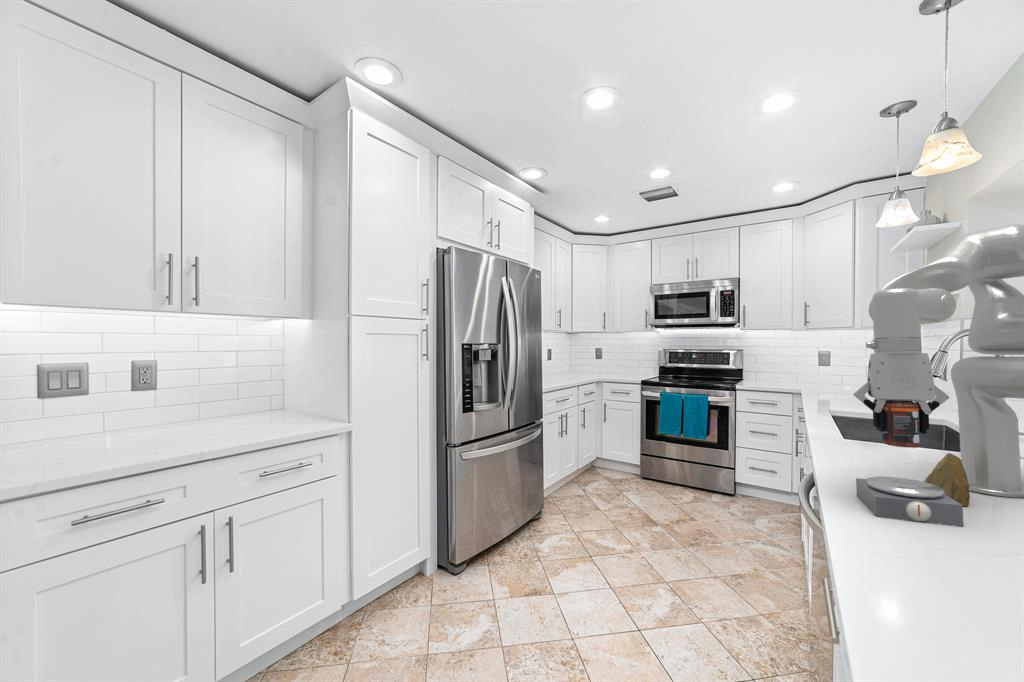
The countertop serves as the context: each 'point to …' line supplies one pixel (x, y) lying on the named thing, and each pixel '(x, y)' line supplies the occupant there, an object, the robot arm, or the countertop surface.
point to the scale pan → (905, 487)
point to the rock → (951, 479)
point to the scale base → (910, 506)
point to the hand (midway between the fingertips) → (900, 430)
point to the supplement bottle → (901, 424)
